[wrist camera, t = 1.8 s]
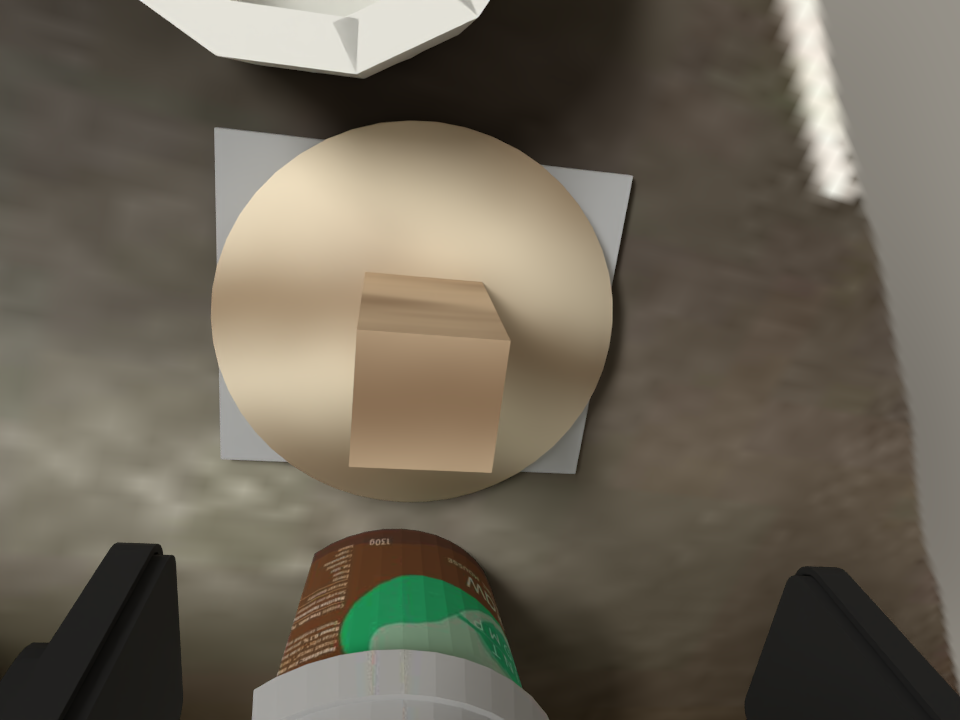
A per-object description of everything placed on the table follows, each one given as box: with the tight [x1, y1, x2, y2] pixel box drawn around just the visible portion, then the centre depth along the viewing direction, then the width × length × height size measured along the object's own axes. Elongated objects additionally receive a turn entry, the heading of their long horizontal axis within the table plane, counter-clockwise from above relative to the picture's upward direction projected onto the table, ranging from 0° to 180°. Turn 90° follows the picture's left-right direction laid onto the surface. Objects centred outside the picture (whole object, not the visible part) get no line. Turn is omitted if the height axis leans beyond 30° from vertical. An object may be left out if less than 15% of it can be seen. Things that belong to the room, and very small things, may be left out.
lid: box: [211, 120, 613, 502], centre depth 21 cm, size 14×14×7 cm
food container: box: [252, 529, 549, 720], centre depth 25 cm, size 12×6×10 cm, turn 35°
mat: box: [214, 127, 633, 474], centre depth 25 cm, size 12×14×1 cm
